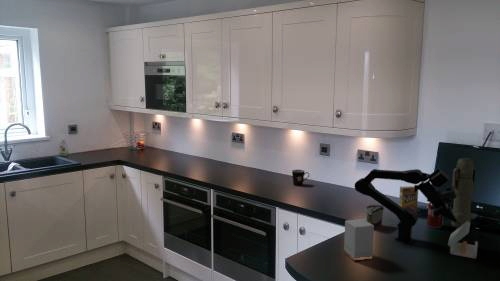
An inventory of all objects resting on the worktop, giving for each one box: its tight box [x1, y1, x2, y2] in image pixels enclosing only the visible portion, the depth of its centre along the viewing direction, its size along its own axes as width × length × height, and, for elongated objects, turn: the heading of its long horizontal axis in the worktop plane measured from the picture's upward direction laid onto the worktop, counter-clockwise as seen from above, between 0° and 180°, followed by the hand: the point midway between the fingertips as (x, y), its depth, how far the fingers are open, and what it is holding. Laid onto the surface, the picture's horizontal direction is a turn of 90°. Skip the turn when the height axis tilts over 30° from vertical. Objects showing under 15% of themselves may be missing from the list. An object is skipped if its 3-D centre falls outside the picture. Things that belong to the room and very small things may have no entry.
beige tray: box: [449, 240, 479, 260], centre depth 189 cm, size 10×13×3 cm
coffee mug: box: [291, 169, 310, 187], centre depth 299 cm, size 12×9×10 cm
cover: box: [447, 221, 471, 248], centre depth 189 cm, size 10×14×2 cm
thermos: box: [450, 157, 477, 229], centre depth 218 cm, size 9×12×35 cm
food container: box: [364, 204, 385, 229], centre depth 219 cm, size 12×6×10 cm, turn 134°
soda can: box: [426, 201, 444, 229], centre depth 219 cm, size 7×7×12 cm
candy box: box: [398, 186, 419, 215], centre depth 237 cm, size 9×4×15 cm, turn 92°
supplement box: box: [343, 218, 375, 258], centre depth 182 cm, size 9×9×15 cm
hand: (456, 221), depth 189 cm, fingers closed
